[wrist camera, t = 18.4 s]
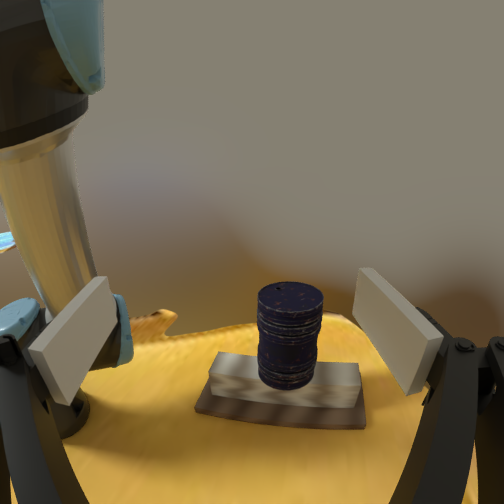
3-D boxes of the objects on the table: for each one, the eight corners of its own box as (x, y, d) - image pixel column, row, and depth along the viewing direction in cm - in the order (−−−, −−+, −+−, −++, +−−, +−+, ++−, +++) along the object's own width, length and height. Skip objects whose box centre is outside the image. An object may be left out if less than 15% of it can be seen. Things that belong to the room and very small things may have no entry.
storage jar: (326, 373, 45) (338, 297, 40) (282, 400, 39) (287, 320, 35) (289, 347, 53) (292, 276, 48) (246, 367, 47) (243, 292, 42)
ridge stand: (195, 412, 45) (189, 384, 43) (217, 365, 58) (214, 338, 56) (364, 429, 39) (375, 402, 37) (358, 377, 52) (366, 350, 50)
